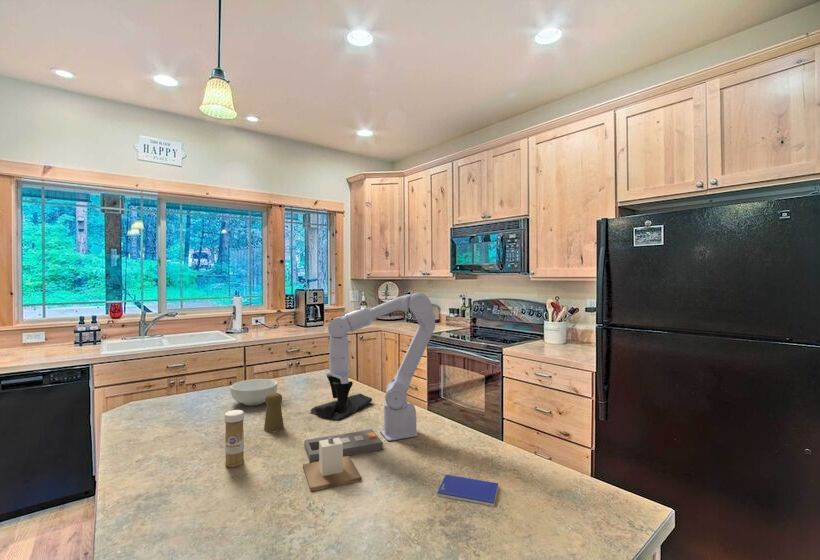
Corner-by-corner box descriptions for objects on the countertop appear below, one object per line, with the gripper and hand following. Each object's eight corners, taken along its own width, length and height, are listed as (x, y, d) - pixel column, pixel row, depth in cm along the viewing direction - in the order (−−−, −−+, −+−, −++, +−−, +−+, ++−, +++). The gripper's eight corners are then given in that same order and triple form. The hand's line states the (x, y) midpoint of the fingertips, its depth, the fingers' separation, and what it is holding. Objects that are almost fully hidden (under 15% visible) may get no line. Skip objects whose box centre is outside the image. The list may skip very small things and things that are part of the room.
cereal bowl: (268, 409, 145) (267, 390, 144) (222, 409, 145) (222, 390, 145) (283, 395, 162) (283, 378, 161) (242, 395, 162) (242, 378, 162)
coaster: (349, 458, 106) (349, 455, 106) (361, 480, 95) (361, 477, 95) (303, 467, 102) (302, 464, 102) (310, 491, 91) (310, 487, 91)
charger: (339, 464, 101) (338, 433, 101) (342, 472, 98) (342, 439, 97) (319, 468, 99) (319, 436, 99) (322, 476, 96) (322, 443, 95)
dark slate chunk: (378, 405, 150) (378, 393, 150) (335, 423, 132) (335, 409, 132) (349, 398, 159) (349, 386, 159) (305, 413, 141) (305, 400, 141)
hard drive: (437, 491, 89) (494, 501, 85) (445, 473, 96) (498, 481, 92) (437, 498, 89) (494, 508, 85) (445, 479, 96) (498, 488, 92)
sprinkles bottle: (225, 469, 101) (224, 416, 101) (225, 461, 105) (224, 410, 105) (244, 465, 103) (244, 413, 102) (244, 458, 107) (243, 408, 107)
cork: (277, 432, 124) (277, 397, 124) (260, 431, 125) (259, 396, 125) (287, 425, 130) (287, 391, 130) (270, 424, 131) (270, 390, 131)
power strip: (372, 435, 121) (372, 427, 121) (382, 449, 112) (382, 440, 112) (304, 447, 113) (304, 438, 113) (309, 462, 104) (309, 452, 104)
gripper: (321, 353, 126) (321, 396, 126) (330, 363, 113) (331, 410, 113) (343, 351, 129) (343, 393, 129) (355, 360, 115) (355, 407, 116)
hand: (339, 401), depth 121 cm, fingers open, 7 cm apart
